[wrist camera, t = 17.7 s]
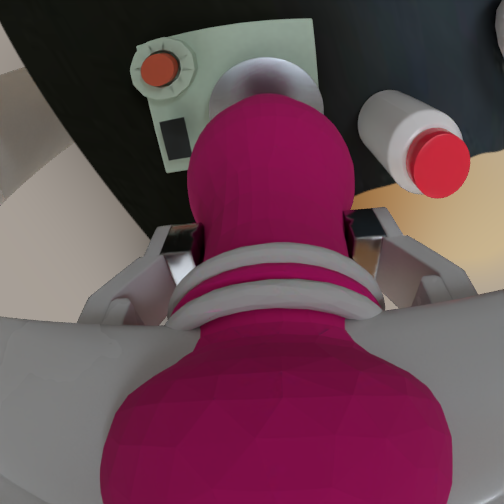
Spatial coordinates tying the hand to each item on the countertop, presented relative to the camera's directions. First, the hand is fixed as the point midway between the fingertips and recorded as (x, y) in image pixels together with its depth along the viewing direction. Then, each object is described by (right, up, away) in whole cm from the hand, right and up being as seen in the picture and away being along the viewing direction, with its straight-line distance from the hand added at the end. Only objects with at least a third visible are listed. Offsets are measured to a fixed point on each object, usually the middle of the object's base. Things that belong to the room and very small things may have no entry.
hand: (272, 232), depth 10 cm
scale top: (-2, +11, +15) cm, 19 cm away
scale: (-3, +15, +16) cm, 22 cm away
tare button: (-9, +15, +12) cm, 21 cm away
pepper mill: (0, +6, +7) cm, 9 cm away
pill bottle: (+14, +13, +17) cm, 25 cm away
